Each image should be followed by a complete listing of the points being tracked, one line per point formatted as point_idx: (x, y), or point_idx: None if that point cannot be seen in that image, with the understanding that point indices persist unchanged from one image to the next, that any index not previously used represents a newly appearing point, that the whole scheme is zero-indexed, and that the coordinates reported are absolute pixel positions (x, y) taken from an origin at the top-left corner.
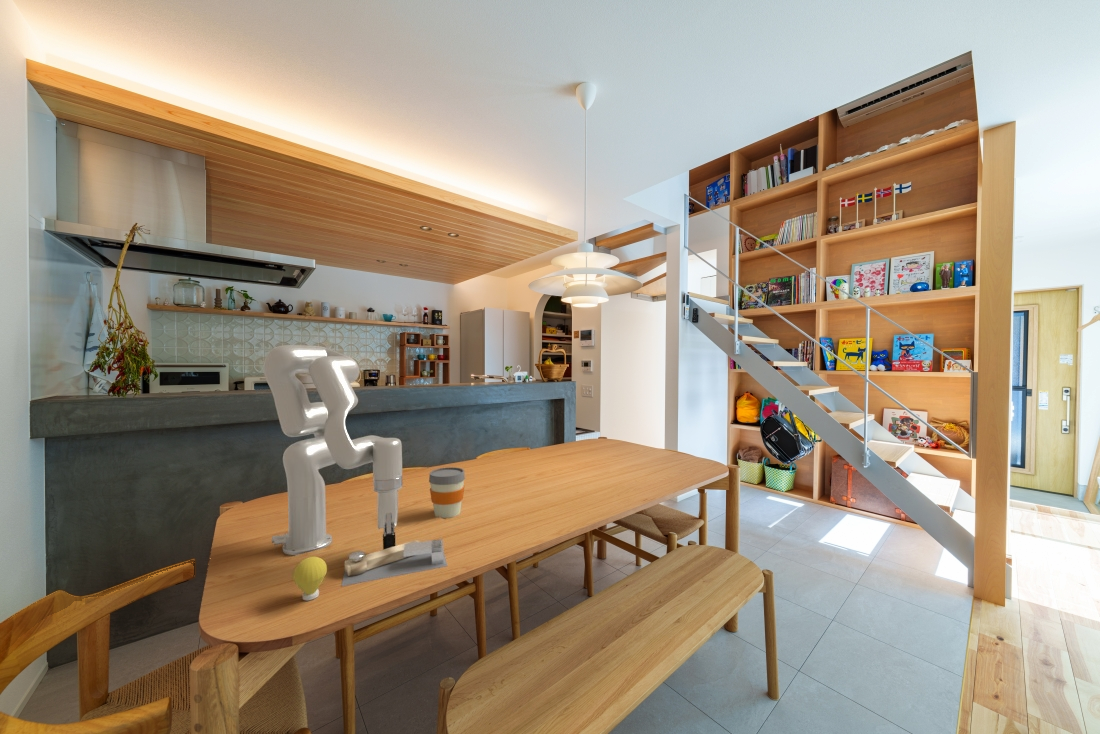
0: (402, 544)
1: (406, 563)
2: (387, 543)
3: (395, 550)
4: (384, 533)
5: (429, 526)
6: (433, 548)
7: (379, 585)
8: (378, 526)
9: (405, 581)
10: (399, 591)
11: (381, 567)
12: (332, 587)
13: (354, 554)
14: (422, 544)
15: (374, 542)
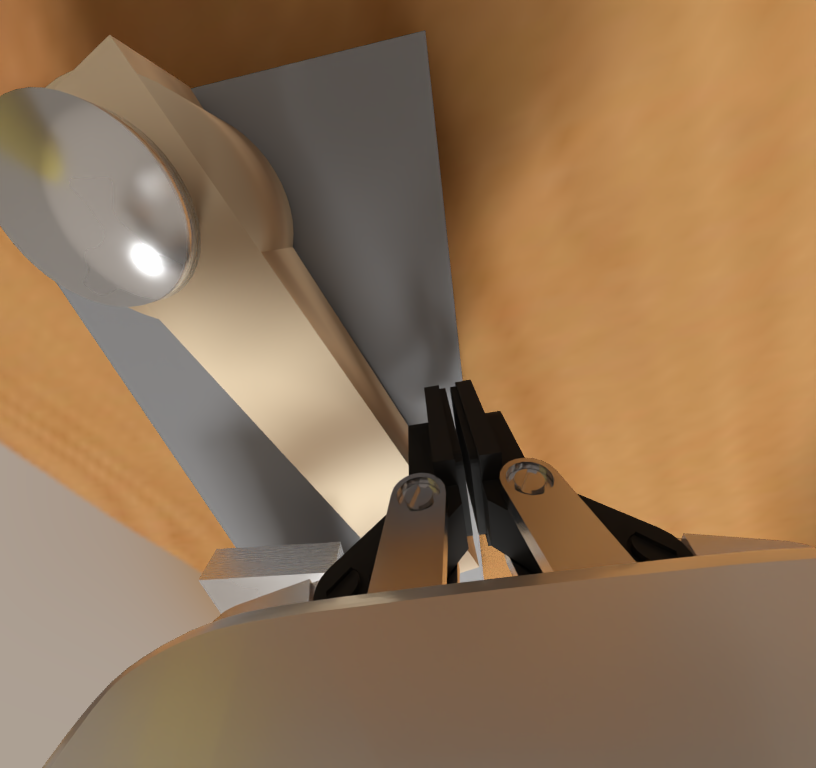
0: None
1: (310, 491)
2: (410, 450)
3: (343, 485)
4: (386, 524)
5: (769, 520)
6: None
7: None
8: (49, 759)
9: (186, 487)
10: (100, 477)
11: None
12: (17, 43)
13: (81, 175)
14: None
15: (762, 224)
